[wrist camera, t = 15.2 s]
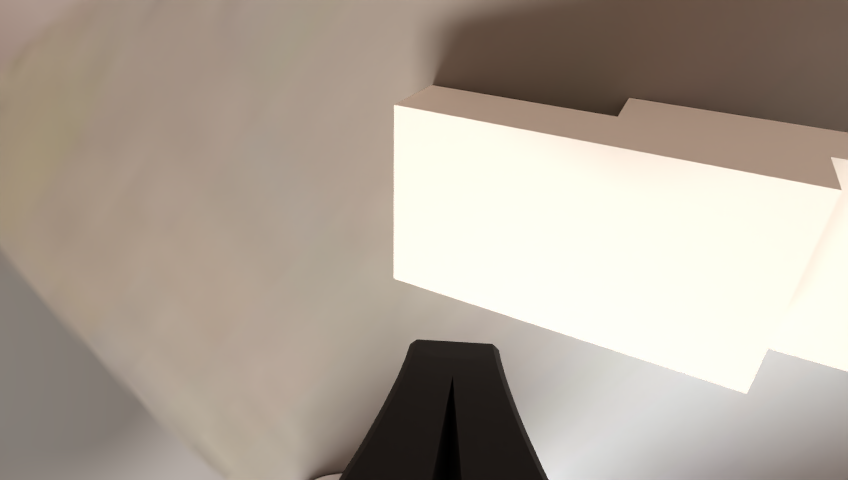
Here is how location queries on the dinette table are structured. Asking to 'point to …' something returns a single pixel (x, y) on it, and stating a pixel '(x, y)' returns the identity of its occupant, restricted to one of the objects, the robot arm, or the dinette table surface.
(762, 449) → the dinette table surface
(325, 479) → the supplement bottle
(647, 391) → the dinette table surface
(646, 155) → the domino
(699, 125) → the domino
